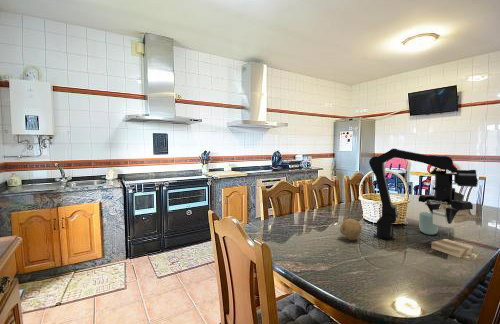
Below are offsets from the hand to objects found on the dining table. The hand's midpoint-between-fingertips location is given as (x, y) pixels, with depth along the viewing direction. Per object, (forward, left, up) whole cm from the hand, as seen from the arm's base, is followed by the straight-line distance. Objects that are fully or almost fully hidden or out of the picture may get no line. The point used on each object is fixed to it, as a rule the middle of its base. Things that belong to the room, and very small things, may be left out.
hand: (443, 221), depth 102 cm
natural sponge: (-32, +18, -12) cm, 38 cm away
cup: (+12, +16, -12) cm, 24 cm away
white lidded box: (0, 0, -1) cm, 1 cm away
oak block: (+2, -2, -12) cm, 12 cm away
